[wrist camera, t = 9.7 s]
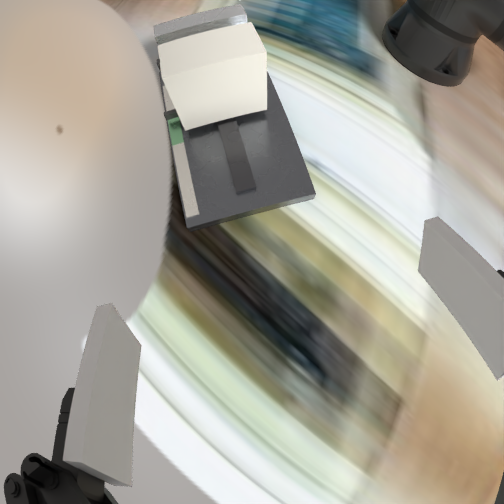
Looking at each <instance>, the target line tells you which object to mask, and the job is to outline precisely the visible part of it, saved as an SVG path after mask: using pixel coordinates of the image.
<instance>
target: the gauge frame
mask: <svg viewBox="0 0 504 504" xmlns="http://www.w3.org/2000/svg"><path fill="white" fill-rule="evenodd" d="M243 23H247V14H246V12H245V10H244V8H243V7H242V5H241V4H238V5H233V6H227V7H222V8H217V9H213V10H208V11H204V12H200V13H196V14H192V15H188V16H185V17H181V18H178V19H174V20H171V21H168V22H164V23H161V24H158V25H155V26H154V34H155V39H156V41H157V44H158V45H161V44H164V43H167V42H170V41H173V40H176V39H180V38H183V37H187V36H190V35H194V34H198V33H202V32H206V31H210V30H214V29H219V28H223V27H228V26H233V25H238V24H243ZM160 81H161V88H162V94H163V101H164V108H165V112H167V111H170V110H173V109H175V107H174V105H173V102H172V100H171V98H170V96H169V93H168V91H167V89H166V87H165V84H164V82H163V80H162V75H161V72H160ZM167 126H168V132H169V138H170V144H171V150H172V155H173V161H174V166H175V171H176V177H177V182H178V187H179V192H180V197H181V202H182V207H183V211H184V216H185V221H186V225H187V229H188V230H189V231H190V232H192V231H195V230H199V229H202V228H206V227H209V226H213V225H217V224H220V223H224V222H227V221H231V220H235V219H238V218H242V217H246V216H249V215H253V214H257V213H261V212H264V211H268V210H272V209H276V208H280V207H284V206H287V205H291V204H295V203H299V202H303V201H307V200H311V199H314V197H315V195H316V193H315V190H314V187H313V184H312V181H311V179H310V176H309V173H308V170H307V168H306V165H305V162H304V159H303V157H302V154H301V152H300V149H299V146H298V144H297V141H296V139H295V136H294V133H293V131H292V128H291V126H290V123H289V121H288V119H287V116H286V114H285V111H284V109H283V106H282V104H281V102H280V99H279V97H278V95H277V92H276V90H275V88H274V85H273V83H272V81H271V78H270V76H269V74H268V72H267V110H263V111H258V112H254V113H249V114H245V115H241V116H237V117H233V118H229V119H225V120H221V121H217V122H214V123H210V124H207V125H203V126H200V127H196V128H193V129H189V130H186V131H185V129H184V127H183V125H182V123H181V120H180V118H179V117H176V118H173V119H170V120H167Z"/></svg>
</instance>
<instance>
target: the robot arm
mask: <svg viewBox="0 0 504 504" xmlns="http://www.w3.org/2000/svg"><path fill="white" fill-rule="evenodd" d="M481 35H484V36H485V37H487V38H488V39H489V40H491V41H492V42H493V43H495V44H496V45H497V46H498V47H500V48H501V49H502V50H503V51H504V0H407V1H406V3H405V4H404V5H403V6H401V7H400V8H399V9H398V10H397V11H396V12H395V13H394V14H393V15H392V16H391V17H390V18H389V19H388V21H387V22H386V25H385V27H384V30H383V34H382V36H383V41H384V43H385V45H386V47H387V48H388V50H389V51H390V52H391V54H392V55H393V56H394V57H395V58H396V59H397V60H398V61H399V62H400V63H401V64H403V65H404V66H405V67H406V68H408V69H409V70H411V71H412V72H413V73H415V74H417V75H418V76H420V77H422V78H424V79H426V80H428V81H430V82H433V83H435V84H439V85H442V86H457V85H459V84H460V83H462V81H463V80H464V79H465V77H466V76H467V75H468V73H469V69H470V65H471V60H472V55H473V50H474V45H475V43H476V42H477V40H478V39H479V37H480V36H481ZM418 272H419V273H420V274H421V275H422V277H423V278H424V279H425V280H426V282H427V283H428V284H429V285H430V286H431V288H432V289H433V290H434V291H435V293H436V294H437V295H438V297H439V298H440V299H441V300H442V302H443V303H444V304H445V306H446V307H447V308H448V310H449V311H450V312H451V314H452V315H453V316H454V318H455V319H456V320H457V322H458V323H459V324H460V326H461V327H462V328H463V330H464V331H465V333H466V334H467V335H468V337H469V338H470V340H471V341H472V343H473V344H474V346H475V347H476V348H477V350H478V351H479V353H480V354H481V356H482V357H483V359H484V360H485V362H486V364H487V365H488V367H489V368H490V370H491V371H492V373H493V374H494V376H495V378H496V379H497V381H498V380H499V379H501V378H502V377H504V272H503V271H502V270H498V271H496V270H495V269H494V268H493V267H492V266H491V265H490V264H489V263H488V262H487V261H486V260H485V259H484V258H483V257H482V256H481V255H480V254H479V253H478V252H477V251H476V250H475V249H474V248H473V247H471V246H470V245H469V244H468V243H467V242H466V241H465V240H464V239H463V238H462V237H461V236H460V235H458V234H457V233H456V232H455V231H454V230H453V229H452V228H451V227H449V226H448V225H447V224H446V223H445V222H444V221H443V220H441V219H440V218H439V217H435V218H431V219H428V220H425V222H424V231H423V239H422V247H421V254H420V261H419V267H418ZM140 352H141V344H140V343H139V341H138V340H137V339H136V337H135V336H134V335H133V333H132V332H131V330H130V329H129V327H128V326H127V325H126V323H125V322H124V320H123V319H122V317H121V316H120V314H119V313H118V311H117V310H116V308H115V307H114V305H113V304H112V303H109V304H105V305H101V306H97V308H96V311H95V314H94V317H93V321H92V324H91V328H90V331H89V334H88V338H87V341H86V345H85V349H84V353H83V356H82V360H81V365H80V368H79V373H78V377H77V381H76V386H75V388H69V389H68V391H67V393H66V394H65V396H64V398H63V400H62V405H61V409H60V413H61V414H60V415H59V420H58V422H59V424H58V425H57V430H56V436H55V442H54V449H53V456H52V461H50V460H48V459H46V458H44V457H43V456H41V455H39V454H38V453H31V454H30V455H28V456H26V458H25V459H24V460H23V463H22V465H21V476H20V475H18V474H16V473H12V474H10V475H8V476H7V478H6V480H5V483H4V493H5V498H6V503H7V504H118V503H117V501H116V500H115V499H114V497H113V496H112V495H111V493H110V492H109V491H108V490H107V489H106V488H105V487H104V482H107V483H109V484H111V485H114V486H130V487H132V457H133V432H134V416H135V402H136V390H137V380H138V370H139V361H140ZM495 504H504V472H503V476H502V480H501V484H500V487H499V491H498V494H497V497H496V501H495Z"/></svg>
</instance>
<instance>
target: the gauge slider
mask: <svg viewBox="0 0 504 504" xmlns="http://www.w3.org/2000/svg"><path fill="white" fill-rule="evenodd" d="M157 46H158V53H159V59H157V65H158V67H159V69H160V72H161V75H162V80H163V82H164V84H165V87H166V89H167V91H168V93H169V96H170V98H171V100H172V102H173V105H174V107H175V109H173V110H170V111H167V112H164V116H165V118H166V120H170V119H173V118H176V117H179V118H180V120H181V123H182V125H183V127H184V129H185V131H186V130H189V129H193V128H196V127H200V126H203V125H207V124H210V123H214V122H217V121H221V120H225V119H229V118H233V117H237V116H241V115H245V114H249V113H254V112H258V111H263V110H267V52H266V50H265V48H264V46H263V44H262V42H261V40H260V38H259V36H258V34H257V32H256V30H255V28H254V26H253V24H252V22H249V23H243V24H238V25H233V26H228V27H223V28H219V29H214V30H210V31H206V32H202V33H198V34H194V35H190V36H187V37H183V38H180V39H176V40H173V41H170V42H167V43H164V44H161V45H157Z"/></svg>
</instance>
